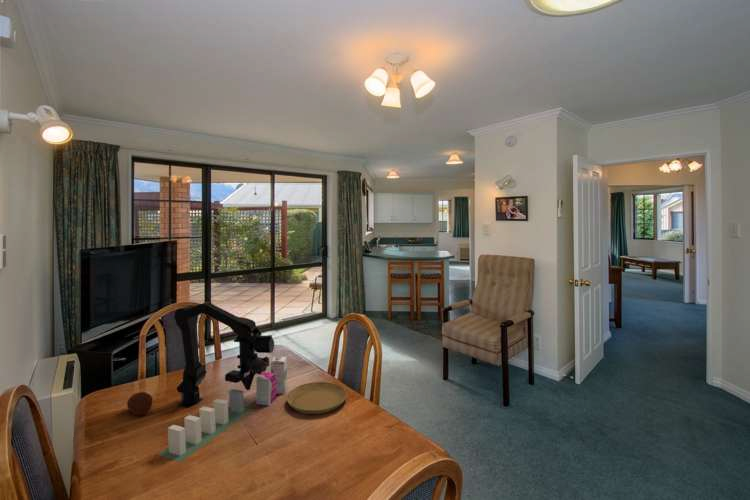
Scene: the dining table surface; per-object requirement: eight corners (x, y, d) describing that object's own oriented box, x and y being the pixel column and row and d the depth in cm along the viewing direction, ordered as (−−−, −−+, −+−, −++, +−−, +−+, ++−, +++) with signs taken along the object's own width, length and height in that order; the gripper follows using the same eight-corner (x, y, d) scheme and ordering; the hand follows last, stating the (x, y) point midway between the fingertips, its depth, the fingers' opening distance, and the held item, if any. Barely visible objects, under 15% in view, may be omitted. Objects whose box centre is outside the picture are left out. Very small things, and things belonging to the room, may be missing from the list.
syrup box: (273, 388, 154) (273, 356, 153) (287, 387, 154) (286, 356, 153) (271, 394, 148) (270, 361, 147) (285, 394, 148) (284, 361, 147)
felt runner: (157, 455, 109) (157, 454, 109) (232, 405, 139) (232, 405, 139) (180, 462, 105) (180, 461, 105) (252, 410, 135) (252, 409, 135)
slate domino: (229, 411, 134) (229, 391, 133) (233, 408, 136) (233, 389, 135) (240, 413, 132) (239, 393, 132) (243, 411, 134) (243, 391, 134)
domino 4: (213, 422, 127) (212, 401, 126) (217, 419, 128) (217, 398, 128) (224, 424, 125) (223, 403, 124) (228, 422, 127) (227, 400, 126)
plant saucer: (335, 384, 158) (335, 377, 158) (355, 409, 136) (355, 401, 136) (281, 395, 148) (281, 387, 148) (294, 424, 126) (293, 415, 126)
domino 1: (168, 452, 110) (167, 427, 109) (174, 448, 112) (173, 424, 111) (180, 455, 108) (179, 431, 107) (186, 452, 110) (185, 427, 109)
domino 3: (200, 431, 121) (199, 409, 120) (204, 428, 123) (203, 406, 122) (211, 434, 119) (210, 411, 119) (215, 431, 121) (214, 409, 120)
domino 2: (185, 441, 115) (184, 418, 115) (190, 437, 117) (189, 415, 117) (196, 444, 114) (195, 421, 113) (201, 441, 115) (200, 417, 115)
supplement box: (269, 406, 138) (268, 378, 137) (256, 405, 139) (255, 377, 138) (276, 399, 144) (275, 372, 143) (263, 398, 145) (262, 371, 144)
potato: (142, 404, 140) (141, 385, 140) (160, 410, 135) (159, 391, 135) (121, 413, 134) (120, 393, 133) (139, 420, 128) (138, 399, 128)
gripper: (247, 363, 127) (248, 404, 128) (278, 347, 145) (279, 383, 146) (223, 359, 131) (224, 399, 132) (256, 343, 148) (257, 379, 150)
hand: (248, 389), depth 140 cm, fingers closed
